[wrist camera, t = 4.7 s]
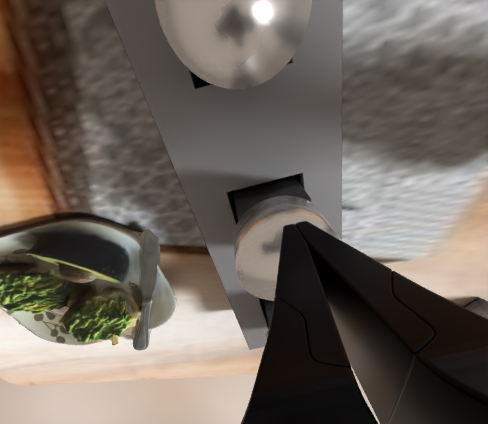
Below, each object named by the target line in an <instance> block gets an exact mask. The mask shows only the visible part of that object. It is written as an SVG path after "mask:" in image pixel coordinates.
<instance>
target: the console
mask: <svg viewBox="0 0 488 424" xmlns="http://www.w3.org/2000/svg"><path fill="white" fill-rule="evenodd" d="M105 3H106V5H107V7H108V10H109V12H110V15H111V17H112V20H113V22H114V24H115V27H116V29H117V32H118V34H119V36H120V39H121V41H122V44H123V46H124V48H125V51H126V53H127V56H128V58H129V60H130V63H131V65H132V68H133V70H134V72H135V75H136V77H137V80H138V82H139V84H140V87H141V89H142V92H143V94H144V97H145V99H146V101H147V104H148V106H149V109H150V111H151V113H152V116H153V118H154V121H155V123H156V125H157V128H158V130H159V133H160V135H161V137H162V140H163V142H164V145H165V147H166V149H167V152H168V154H169V157H170V159H171V162H172V164H173V166H174V169H175V171H176V174H177V176H178V178H179V181H180V183H181V186H182V188H183V190H184V193H185V195H186V198H187V200H188V202H189V205H190V207H191V210H192V212H193V214H194V217H195V219H196V222H197V224H198V227H199V229H200V231H201V234H202V236H203V239H204V241H205V243H206V246H207V248H208V251H209V253H210V255H211V258H212V260H213V263H214V265H215V267H216V270H217V272H218V275H219V277H220V279H221V282H222V284H223V287H224V289H225V291H226V294H227V296H228V299H229V301H230V304H231V306H232V308H233V311H234V313H235V316H236V318H237V320H238V323H239V325H240V328H241V330H242V332H243V335H244V337H245V340H246V342H247V344H248V347H249V349H250V350H252V349H256V348H260V347H264V346H265V345H266V343H265V335H266V333H267V331H268V330H269V328H270V327H269V322H268V318H267V313H266V309H265V304H264V301H263V302H260V299H259V298H258V297H256V296H254V295H252V294H250V293H249V292H248V291H246V290H245V289H244V288H243V287H242V285H241V284H240V282H239V280H238V277H237V271H236V263H235V254H234V246H233V233H234V230H235V227H236V225H237V222H236V219H235V215H234V212H233V209H232V205H231V202H230V199H229V195H228V192H230V191H234V190H237V189H241V188H245V187H249V186H253V185H257V184H261V183H265V182H269V181H273V180H276V179H280V178H284V177H288V176H292V175H296V174H299V179H300V184H301V185H302V187H303V188H304V190H305V191H306V192H307V194H308V195H309V197H310V198H311V203H313V204H314V205H315V206H316V207H317V208H318V209H319V210H320V212H321V213H322V214H323V216H324V217H325V219H326V220H327V221H328V223H329V224H330V225H331V227H332V228H333V230H334V231H335V232H336V234H337V235H338V236H339V238H340V240H341V241H342V23H343V0H312V7H311V13H310V18H309V22H308V25H307V28H306V31H305V34H304V36H303V39H302V41H301V43H300V45H299V47H298V49H297V51H296V52H295V54H294V55H293V57H292V58H291V60H290V61H289V62H288V63H287V65H286V66H285V67H284V68H283V69H282V70H281V71H280V72H279V73H277V74H276V75H275V76H274V77H272V78H271V79H269V80H268V81H266V82H264V83H262V84H260V85H257V86H254V87H251V88H246V89H226V88H222V87H218V86H215V85H213V84H207V85H203V86H200V87H196V85H195V82H194V79H193V75H192V72H191V71H190V70H189V69H188V68H187V67H186V66H185V65H184V64H183V62H182V61H181V60H180V59H179V58H178V56H177V55H176V54H175V52H174V50H173V49H172V47H171V46H170V44H169V42H168V40H167V38H166V36H165V34H164V32H163V29H162V27H161V24H160V21H159V18H158V14H157V10H156V6H155V0H105Z"/></svg>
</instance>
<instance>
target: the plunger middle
mask: <svg viewBox="0 0 488 424" xmlns="http://www.w3.org/2000/svg"><path fill="white" fill-rule="evenodd" d="M233 194H234V200H235V206H236V212H237V218H238V223H237V225H236V227H235V230H234V233H233V246H234V254H235V263H236V271H237V277H238V280H239V282H240V284H241V285H242V287H243V288H244V289H245V290H246V291H248V292H249V293H250V294H252V295H254V296H256V297H258V298H261V299H265V300H271V301H274V298H275V290H276V282H277V274H278V265H279V257H280V249H281V241H282V233H283V227H284V226H285V225H289V224H296V223H298V222H302V221H308V222H310V223H311V224H313V225H315V226H317V227H318V228H320V229H322V230H323V231H325V232H327V233H329V234H330V235H332V236H334V237H336V238H337V239H339V240H340V238H339V236H338V235H337V234H336V232H335V231H334V230H333V228H332V227H331V225H330V224H329V223H328V221H327V220H326V219H325V217H324V216H323V214H322V213H321V212H320V210H319V209H318V208H317V207H316V206H315V205H314V204H313V203H311V198H310V197H309V195H308V194H307V192H306V191H305V190H304V188H303V187H302V185H301V184H300V183H299V181H298V180H297V179H296V177H295V176H294V175H292V176H288V177H284V178H280V179H276V180H273V181H269V182H265V183H261V184H257V185H253V186H249V187H245V188H241V189H237V190H234V191H233Z"/></svg>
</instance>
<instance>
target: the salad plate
mask: <svg viewBox="0 0 488 424" xmlns="http://www.w3.org/2000/svg"><path fill="white" fill-rule="evenodd" d="M159 263H160V246H159V239H158V237H156V236H155V235H154V234H153V233H152V232H151V231H150V230H149V229H147V230H145V231H143V232H137V231H133V230H130V229H128V228H126V227H124V226H121V225H119V224H117V223H114V222H111V221H108V220H105V219H101V218H96V217H83V216H80V217H69V218H61V219H52V220H47V221H44V222H40V223H35V224H31V225H26V226H22V227H18V228H14V229H10V230H6V231H2V232H0V308H1V309H2V310H4V311H5V312H6V313H7V314H9V315H10V316H12V317H13V318H15V319H16V320H17V321H18V322H19V324H21V325H23V326H24V327H25V328H27V329H28V330H29V331H31V332H32V333H34V334H35V335H37V336H38V337H40V338H43V339H45V340H48V341H51V342H55V343H61V344H68V345H87V344H92V343H96V342H103V341H105V340H111V341H112V345H116V344H118V337H120V336H123V335H129V336H131V337H132V338H133V347H134V349H136V350H144V349H146V348H147V347H148V345H149V337H150V332H151V330H152V329H154V328H156V327H158V326H161V325H162V324H164V323H166V322H167V321H168V320H169V319H170V318H171V316H172V315H173V314H174V312H175V310H176V307H177V300H176V297H175V294H174V291H173V289H172V287H171V284H170V283H169V281H168V280H167V278H166V277H165V275H164V273H163V272H162V270H161V268H160V267H159V265H158V264H159ZM130 282H131V283H134V284H136V286H130ZM64 306H67V307H68V308H69V310H68V311H67V312H66V313H65V314H64V316H63V315H59V314H57V313H55V312H53V311H51V310H54V309H56V308H57V309H60V308H62V307H64ZM49 309H50V310H49Z"/></svg>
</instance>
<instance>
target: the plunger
mask: <svg viewBox="0 0 488 424" xmlns="http://www.w3.org/2000/svg"><path fill="white" fill-rule="evenodd" d="M155 6H156V10H157V14H158V18H159V21H160V24H161V27H162V29H163V32H164V34H165V36H166V38H167V40H168V42H169V44H170V46H171V47H172V49H173V50H174V52H175V54H176V55H177V56H178V58H179V59H180V60H181V61H182V62H183V64H184V65H185V66H186V67H187V68H188V69H189V70H190V71H191V72H193V73H194V74H195V75H197V76H198V77H199V78H201V79H203V80H204V81H206V82H208V83H210V84H213V85H215V86H218V87H222V88H226V89H246V88H251V87H254V86H257V85H260V84H262V83H264V82H266V81H268V80H269V79H271V78H272V77H274V76H275V75H276V74H277V73H279V72H280V71H281V70H282V69H283V68H284V67H285V66H286V65H287V63H288V62H289V61H290V60H291V58H292V57H293V55H294V54H295V52H296V51H297V49H298V47H299V45H300V43H301V41H302V39H303V36H304V34H305V31H306V28H307V25H308V22H309V18H310V13H311V7H312V0H155Z"/></svg>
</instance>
